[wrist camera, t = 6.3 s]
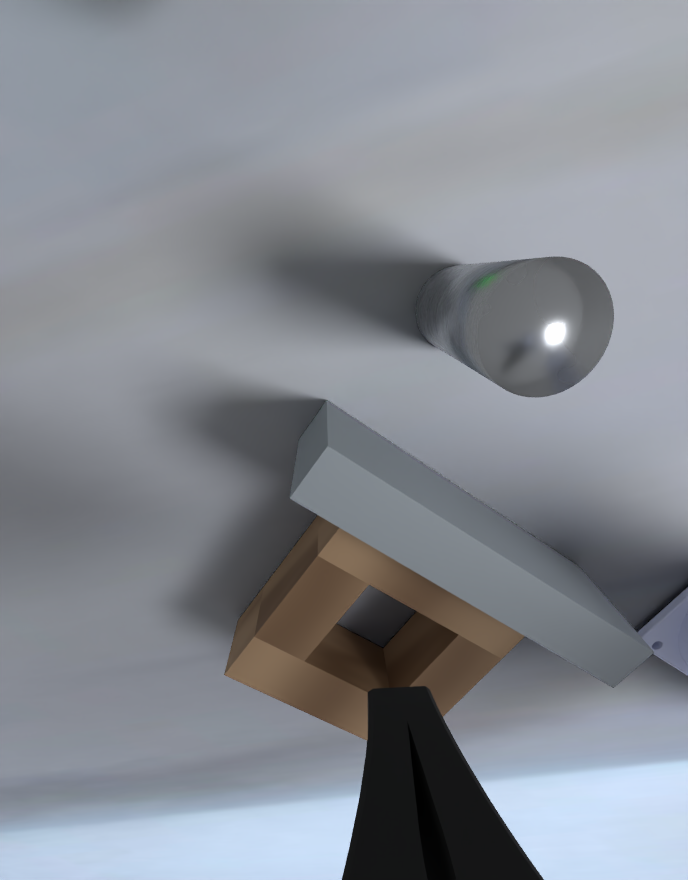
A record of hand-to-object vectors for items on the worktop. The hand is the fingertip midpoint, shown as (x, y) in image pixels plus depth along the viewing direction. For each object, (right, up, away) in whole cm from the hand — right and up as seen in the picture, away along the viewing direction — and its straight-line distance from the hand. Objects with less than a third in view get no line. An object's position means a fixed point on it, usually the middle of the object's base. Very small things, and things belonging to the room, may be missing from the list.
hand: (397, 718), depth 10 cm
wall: (+3, +4, +9) cm, 10 cm away
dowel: (+3, +11, +6) cm, 13 cm away
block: (0, -1, +10) cm, 10 cm away
